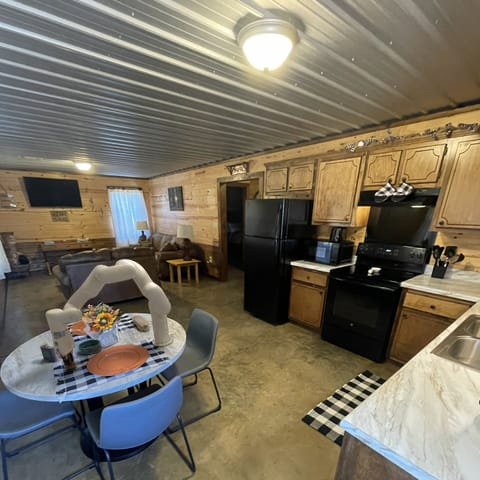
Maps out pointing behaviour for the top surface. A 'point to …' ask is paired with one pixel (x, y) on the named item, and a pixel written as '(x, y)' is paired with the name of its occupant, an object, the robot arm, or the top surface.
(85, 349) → the bowl
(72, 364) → the brush
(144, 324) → the shoe brush
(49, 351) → the flask
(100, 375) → the top surface
